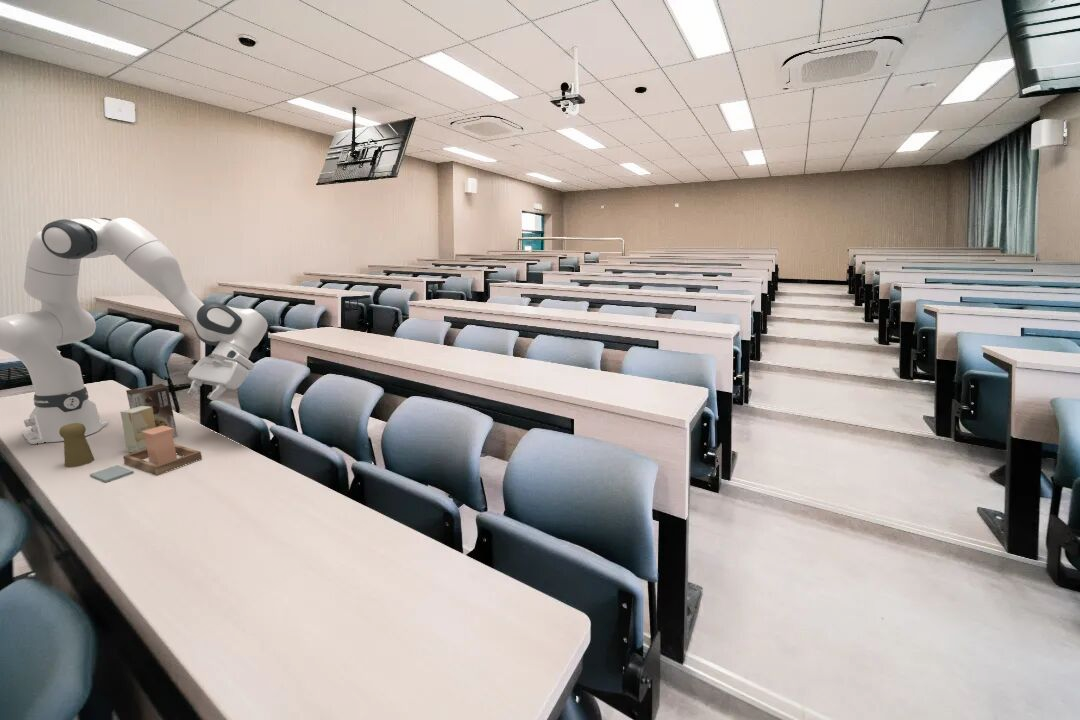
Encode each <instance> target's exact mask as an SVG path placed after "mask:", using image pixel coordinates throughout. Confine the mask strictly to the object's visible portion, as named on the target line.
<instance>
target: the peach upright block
mask: <svg viewBox="0 0 1080 720" xmlns="http://www.w3.org/2000/svg"><path fill="white" fill-rule="evenodd" d="M172 433H174V428H171V427H167V426H163V425H162V426H159V427H155V428H152V429H149V430H145V431H142V436H145V441H146V446H147V451H148V456H149V457H148V462H150V463H153V464H156V465H160V464H163V463H166V462H169V461H171V460H174V459H177V458H178V457H177V454H176V451H175V445H174V444H175V440H174V437H173V434H172Z"/></svg>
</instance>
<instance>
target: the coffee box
mask: <svg viewBox="0 0 1080 720" xmlns="http://www.w3.org/2000/svg"><path fill="white" fill-rule="evenodd" d="M170 395H171V394H170V391H169V387H168V386H167V385H165V384H163V383H159V384H153V385H147V386H142V387H137V388H133V389H127V390H126V396H127V400H128V405H129V409H132V408H136V407H139V406H149V407H152V408H153V414H154V420H155V426H156V427H159V426H162V425H163V426H167V427H171V428H174V433H172V434H173V438H177V437H178V431H177V427H176V421H175V416H174V411H173V407H172V402H171V396H170Z"/></svg>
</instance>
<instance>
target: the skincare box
mask: <svg viewBox="0 0 1080 720" xmlns="http://www.w3.org/2000/svg"><path fill="white" fill-rule="evenodd" d="M120 417H121V421H122V429H123V435H124V440H125V444H126V451H127V452H128V453H134V452H137V451H141V450H144V449H147V446H146V441H145V436H142V431H145V430H149V429H152V428H155V427H156V426H155V420H154V414H153V408H152V407H149V406H139V407H136V408H132V409H130V408H128V409H126V410H123V411H122V410H121V411H120Z"/></svg>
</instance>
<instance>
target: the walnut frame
mask: <svg viewBox="0 0 1080 720" xmlns="http://www.w3.org/2000/svg"><path fill="white" fill-rule="evenodd" d="M174 445H175V451H176V453H177V454H176V455H179V454H181V455H180V457H177V459H174V460H171V461H169V462H166V463H163V464H160V465H156V464H153V463H150V462H149V461H147V460H145V459H146V458H149V456H148V451H147V449H144V450H141V451H137V452H134V453H133V452H130V453H128V454H125V455H123V463H124V464H125V465H127V466H130V467H133V468H135V469H138V468H139V469H138V470H141V469H142V470H141V471H144V470H145V471H144V472H147V473H151V474H152V475H155V474H156V476H159V474H160V475H162V474H164V472H165V473H167V472H166V471H168V472H170V471H169V470H171V469H173V470H175V469H174V468H176V469H178V468H177V467H179V468H181V467H180V466H182V467H183V465H184V466H186V465H185V464H187V465H189V464H188V463H190V464H192V463H191V462H193V463H195V462H197V461H196V460H198V461H200V460H199V459H201V460H202V459H203V458H202V457H203V456H202V452H201V451H199V450H197V449H196V450H195V449H192V448H189V447H186V446H182V445H180V444H176V443H174ZM182 455H184V456H182ZM194 461H195V462H194ZM171 471H172V470H171ZM161 473H162V474H161Z"/></svg>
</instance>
